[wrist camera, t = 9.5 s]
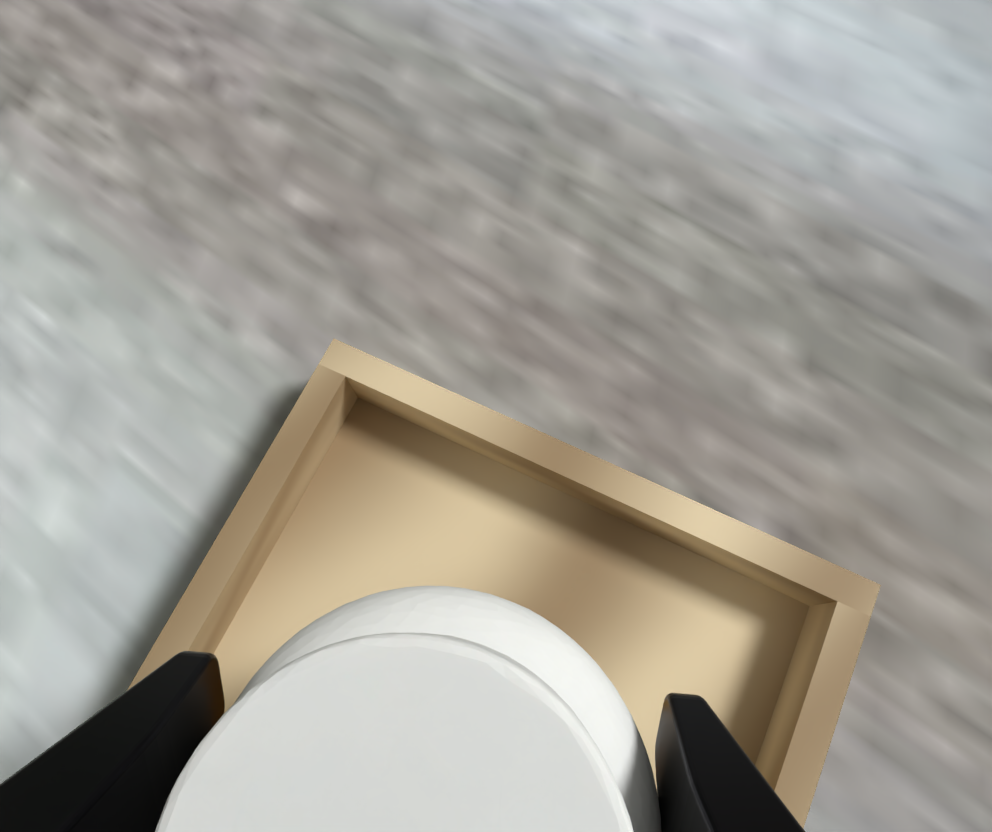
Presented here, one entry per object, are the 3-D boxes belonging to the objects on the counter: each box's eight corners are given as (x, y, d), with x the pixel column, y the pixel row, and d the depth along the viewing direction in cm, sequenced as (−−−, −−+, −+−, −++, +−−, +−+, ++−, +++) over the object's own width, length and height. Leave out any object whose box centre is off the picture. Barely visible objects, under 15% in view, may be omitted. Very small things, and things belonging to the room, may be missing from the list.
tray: (838, 593, 18) (880, 585, 16) (623, 1235, 14) (642, 1331, 12) (351, 371, 19) (333, 338, 17) (54, 889, 16) (-10, 923, 14)
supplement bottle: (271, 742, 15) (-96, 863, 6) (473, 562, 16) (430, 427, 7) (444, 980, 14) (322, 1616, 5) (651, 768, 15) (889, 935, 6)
